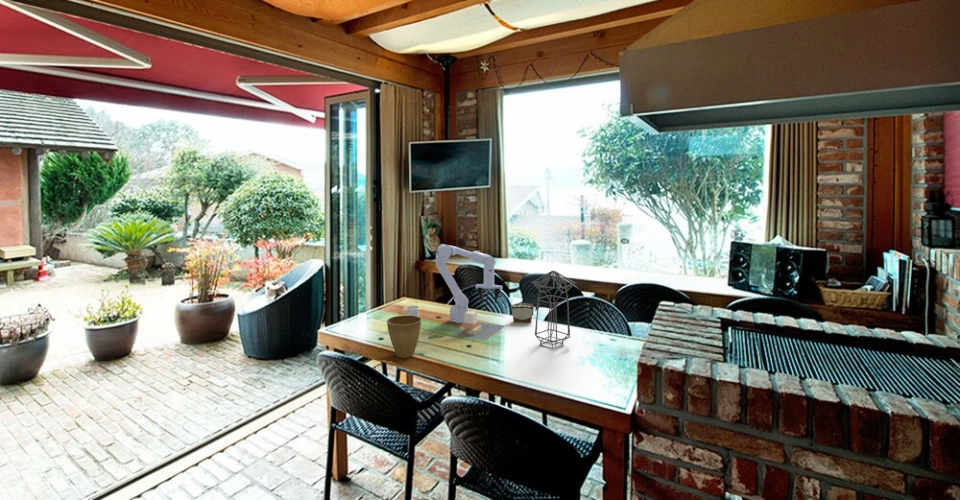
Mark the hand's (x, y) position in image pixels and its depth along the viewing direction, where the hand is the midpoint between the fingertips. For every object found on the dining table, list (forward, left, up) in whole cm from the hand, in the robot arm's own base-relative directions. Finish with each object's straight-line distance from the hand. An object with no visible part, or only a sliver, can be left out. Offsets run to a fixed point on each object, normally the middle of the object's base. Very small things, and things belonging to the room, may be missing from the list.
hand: (489, 301), depth 243 cm
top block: (+1, -24, -5) cm, 24 cm away
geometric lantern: (+43, -24, -11) cm, 50 cm away
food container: (+18, +4, -11) cm, 21 cm away
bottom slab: (+1, -24, -10) cm, 26 cm away
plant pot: (-12, -62, -11) cm, 64 cm away
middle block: (+1, -24, -7) cm, 25 cm away
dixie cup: (-33, -26, -11) cm, 43 cm away
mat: (+4, -20, -10) cm, 23 cm away
